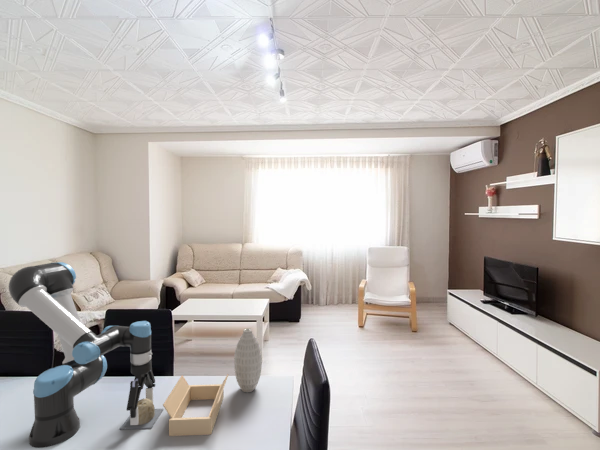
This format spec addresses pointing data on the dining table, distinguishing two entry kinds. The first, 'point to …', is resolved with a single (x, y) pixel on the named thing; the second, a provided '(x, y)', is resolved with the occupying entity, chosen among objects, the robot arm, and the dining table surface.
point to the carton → (180, 401)
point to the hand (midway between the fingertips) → (142, 413)
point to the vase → (247, 361)
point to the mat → (143, 426)
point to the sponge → (145, 411)
